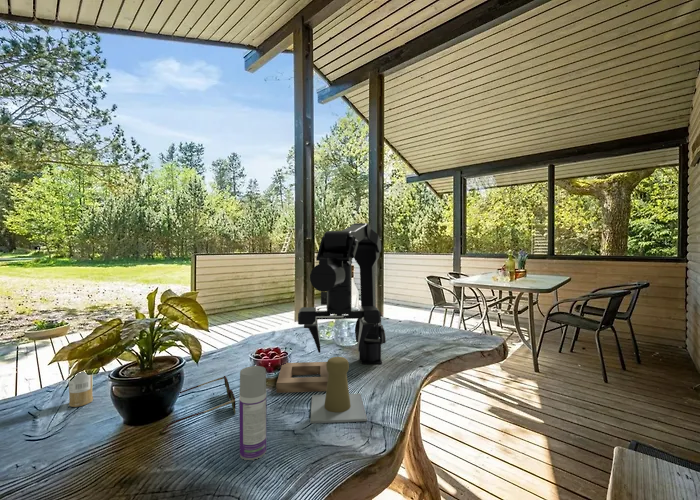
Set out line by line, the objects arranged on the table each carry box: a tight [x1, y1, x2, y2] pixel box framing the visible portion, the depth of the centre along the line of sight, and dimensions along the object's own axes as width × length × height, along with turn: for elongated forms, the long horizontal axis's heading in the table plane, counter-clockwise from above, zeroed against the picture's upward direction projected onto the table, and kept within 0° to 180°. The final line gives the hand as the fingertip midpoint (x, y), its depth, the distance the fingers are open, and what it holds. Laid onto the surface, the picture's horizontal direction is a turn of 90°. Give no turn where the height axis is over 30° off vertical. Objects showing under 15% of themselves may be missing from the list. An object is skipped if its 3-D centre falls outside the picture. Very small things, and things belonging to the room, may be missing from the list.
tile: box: [310, 392, 368, 424], centre depth 77 cm, size 12×12×1 cm
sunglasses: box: [161, 375, 237, 432], centre depth 76 cm, size 14×15×5 cm
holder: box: [275, 361, 329, 394], centre depth 92 cm, size 14×14×2 cm
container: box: [238, 365, 268, 461], centre depth 61 cm, size 5×5×15 cm
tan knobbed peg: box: [325, 356, 351, 413], centre depth 77 cm, size 6×6×11 cm
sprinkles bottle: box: [68, 366, 94, 408], centre depth 79 cm, size 5×5×13 cm
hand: (339, 351), depth 79 cm, fingers open, 9 cm apart
